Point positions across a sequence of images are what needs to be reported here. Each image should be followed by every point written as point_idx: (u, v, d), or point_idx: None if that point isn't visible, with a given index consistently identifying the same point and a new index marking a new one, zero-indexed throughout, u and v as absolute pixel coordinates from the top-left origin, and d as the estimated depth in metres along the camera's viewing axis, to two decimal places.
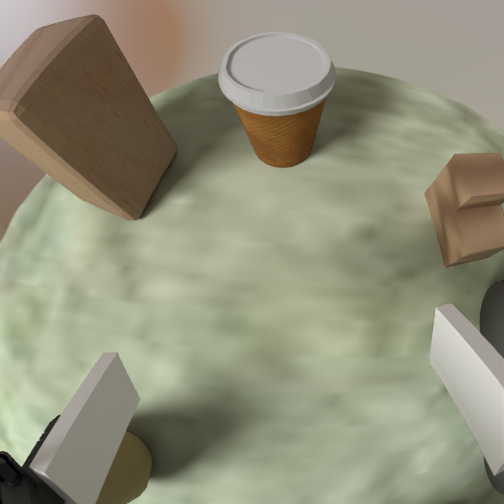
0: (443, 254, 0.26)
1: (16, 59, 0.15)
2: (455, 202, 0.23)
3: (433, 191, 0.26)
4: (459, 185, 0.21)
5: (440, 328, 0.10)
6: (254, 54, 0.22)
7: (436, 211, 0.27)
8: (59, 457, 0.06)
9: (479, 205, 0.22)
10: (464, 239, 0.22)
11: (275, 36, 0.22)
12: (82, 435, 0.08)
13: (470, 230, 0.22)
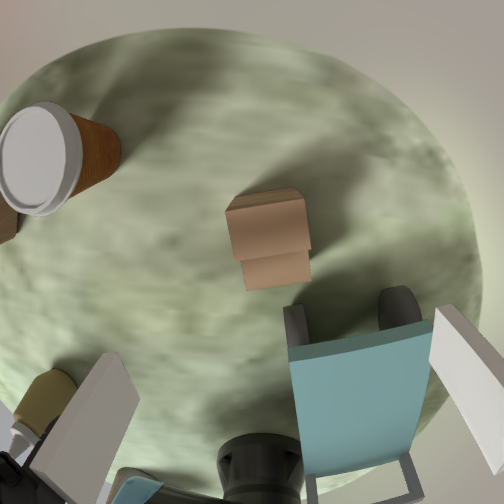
0: None
1: None
2: None
3: None
4: None
5: (440, 328, 0.10)
6: (14, 148, 0.18)
7: None
8: (59, 457, 0.06)
9: None
10: (244, 277, 0.28)
11: (27, 113, 0.17)
12: (82, 435, 0.08)
13: (253, 268, 0.28)
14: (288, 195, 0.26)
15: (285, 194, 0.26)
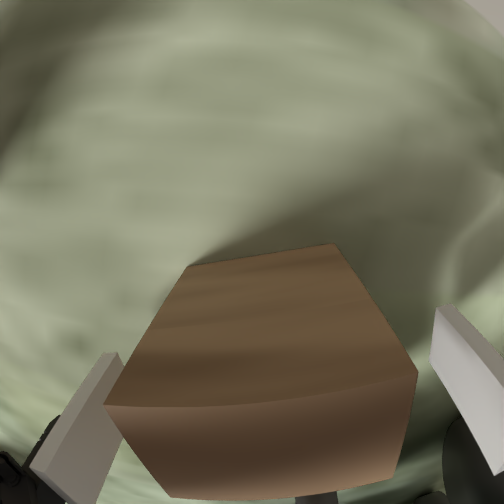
0: None
1: None
2: None
3: None
4: None
5: (440, 328, 0.10)
6: None
7: None
8: (59, 457, 0.06)
9: None
10: None
11: None
12: (82, 435, 0.08)
13: None
14: (336, 309, 0.07)
15: (323, 295, 0.08)
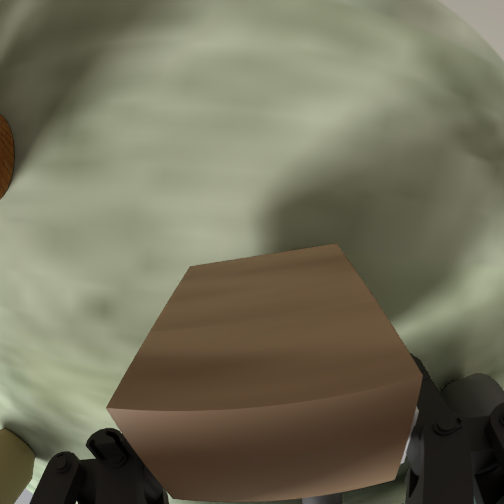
0: None
1: None
2: None
3: None
4: None
5: None
6: None
7: None
8: None
9: None
10: None
11: None
12: None
13: None
14: (340, 311, 0.07)
15: (327, 297, 0.08)
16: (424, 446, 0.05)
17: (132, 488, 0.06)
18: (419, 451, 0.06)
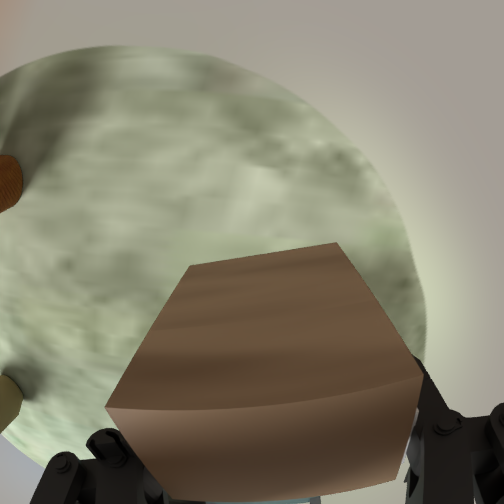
0: None
1: None
2: None
3: None
4: None
5: None
6: None
7: None
8: None
9: None
10: None
11: None
12: None
13: None
14: (340, 310, 0.07)
15: (327, 296, 0.08)
16: (424, 446, 0.05)
17: (132, 488, 0.06)
18: (419, 451, 0.06)
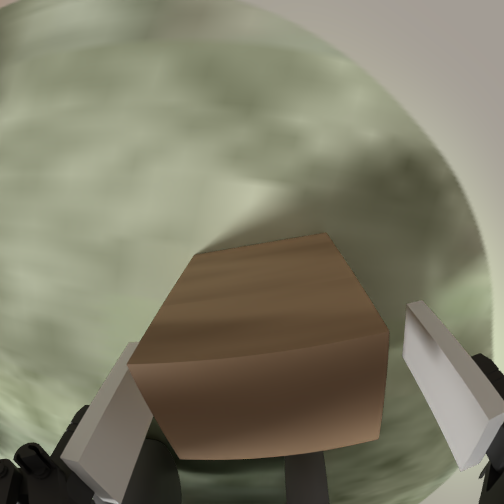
0: None
1: None
2: None
3: None
4: None
5: (410, 324, 0.11)
6: None
7: None
8: (92, 446, 0.07)
9: None
10: None
11: None
12: (113, 423, 0.08)
13: None
14: (324, 285, 0.09)
15: (313, 275, 0.10)
16: None
17: (57, 496, 0.05)
18: None
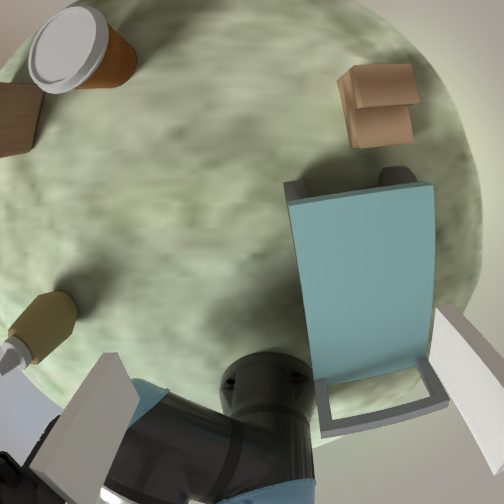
0: (348, 136, 0.32)
1: None
2: (354, 102, 0.26)
3: (341, 83, 0.29)
4: (356, 92, 0.25)
5: (440, 328, 0.10)
6: (49, 40, 0.19)
7: (343, 99, 0.30)
8: (59, 457, 0.06)
9: None
10: (359, 135, 0.28)
11: (64, 13, 0.18)
12: (82, 435, 0.08)
13: (367, 127, 0.28)
14: None
15: None
16: None
17: (28, 501, 0.04)
18: None
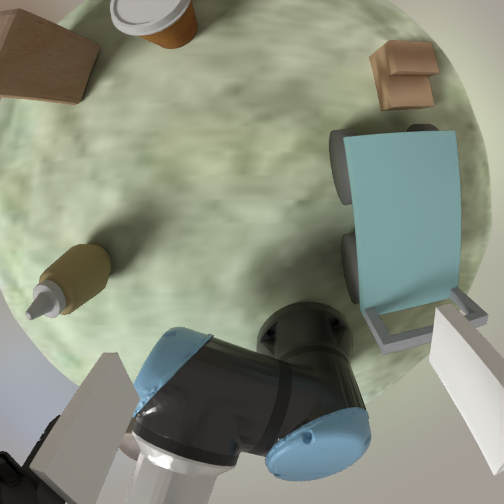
0: (380, 101, 0.36)
1: None
2: (387, 70, 0.30)
3: (374, 57, 0.32)
4: (391, 61, 0.28)
5: (440, 328, 0.10)
6: None
7: (376, 71, 0.33)
8: (59, 457, 0.06)
9: (408, 75, 0.30)
10: (392, 96, 0.31)
11: None
12: (82, 435, 0.08)
13: (398, 91, 0.31)
14: None
15: None
16: None
17: (28, 501, 0.04)
18: None
